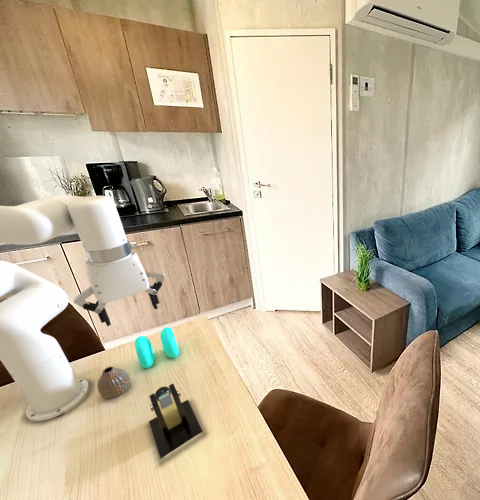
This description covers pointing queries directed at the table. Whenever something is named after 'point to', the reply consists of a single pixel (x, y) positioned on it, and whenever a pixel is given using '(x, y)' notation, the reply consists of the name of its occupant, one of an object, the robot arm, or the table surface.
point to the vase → (113, 382)
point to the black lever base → (177, 434)
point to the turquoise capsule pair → (146, 349)
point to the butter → (171, 416)
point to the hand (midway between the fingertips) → (132, 314)
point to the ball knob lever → (164, 396)
